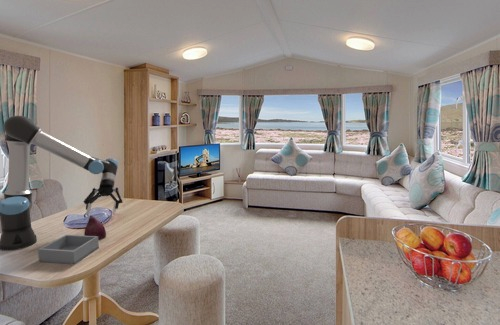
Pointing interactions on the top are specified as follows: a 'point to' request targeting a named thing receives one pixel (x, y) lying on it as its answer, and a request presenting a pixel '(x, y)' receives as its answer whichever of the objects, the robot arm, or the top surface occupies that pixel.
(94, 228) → the vegetable
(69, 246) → the slate bin
